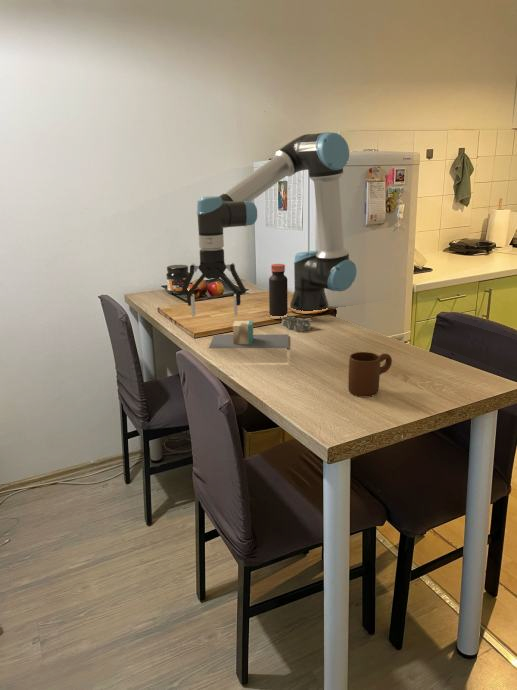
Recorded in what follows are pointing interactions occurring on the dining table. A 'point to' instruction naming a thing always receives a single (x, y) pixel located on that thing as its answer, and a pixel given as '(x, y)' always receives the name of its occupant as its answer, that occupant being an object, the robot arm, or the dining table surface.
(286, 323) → the egg carton
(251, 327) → the maple cube
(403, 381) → the dining table surface
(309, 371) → the dining table surface
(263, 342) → the rubber mat
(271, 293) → the bottle
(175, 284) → the supplement container
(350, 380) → the mug
